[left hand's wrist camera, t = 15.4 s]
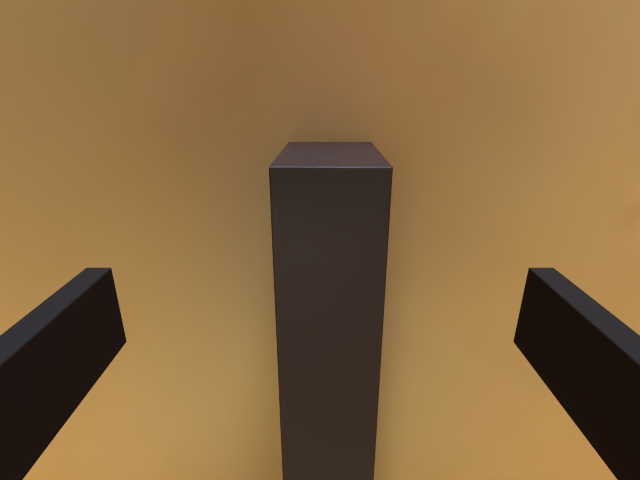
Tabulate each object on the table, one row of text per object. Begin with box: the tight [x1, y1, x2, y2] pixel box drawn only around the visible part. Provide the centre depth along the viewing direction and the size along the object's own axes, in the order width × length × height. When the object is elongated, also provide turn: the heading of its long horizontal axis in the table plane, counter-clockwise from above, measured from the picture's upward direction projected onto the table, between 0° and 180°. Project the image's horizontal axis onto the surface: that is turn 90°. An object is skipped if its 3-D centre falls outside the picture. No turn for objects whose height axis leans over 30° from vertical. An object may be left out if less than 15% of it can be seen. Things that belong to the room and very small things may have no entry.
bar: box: [269, 142, 393, 480], centre depth 27 cm, size 36×5×9 cm, turn 0°
